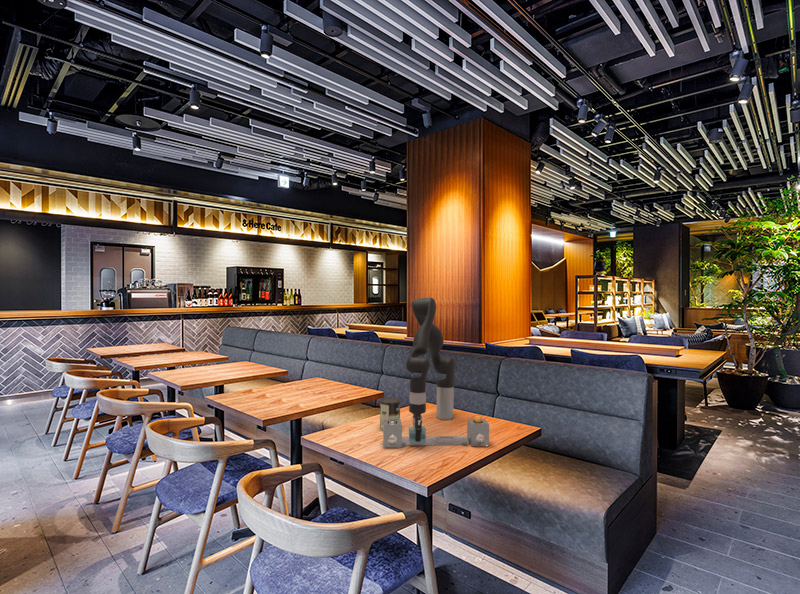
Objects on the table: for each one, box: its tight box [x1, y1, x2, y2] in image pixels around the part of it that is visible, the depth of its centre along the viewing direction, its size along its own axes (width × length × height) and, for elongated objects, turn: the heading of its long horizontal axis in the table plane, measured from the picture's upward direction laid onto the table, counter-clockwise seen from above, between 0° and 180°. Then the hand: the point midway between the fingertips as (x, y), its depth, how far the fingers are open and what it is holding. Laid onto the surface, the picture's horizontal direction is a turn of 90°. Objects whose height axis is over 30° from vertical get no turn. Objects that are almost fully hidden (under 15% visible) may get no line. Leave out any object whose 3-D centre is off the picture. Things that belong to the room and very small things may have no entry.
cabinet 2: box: [466, 418, 490, 447], centre depth 189 cm, size 9×8×10 cm
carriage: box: [408, 425, 427, 444], centre depth 187 cm, size 5×7×6 cm
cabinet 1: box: [382, 419, 403, 449], centre depth 186 cm, size 9×8×11 cm
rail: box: [402, 435, 469, 448], centre depth 188 cm, size 6×30×3 cm, turn 94°
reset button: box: [474, 414, 482, 423], centre depth 189 cm, size 3×3×4 cm
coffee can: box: [379, 397, 401, 431], centre depth 209 cm, size 10×10×14 cm
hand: (417, 438), depth 187 cm, fingers closed on carriage, 5 cm apart
